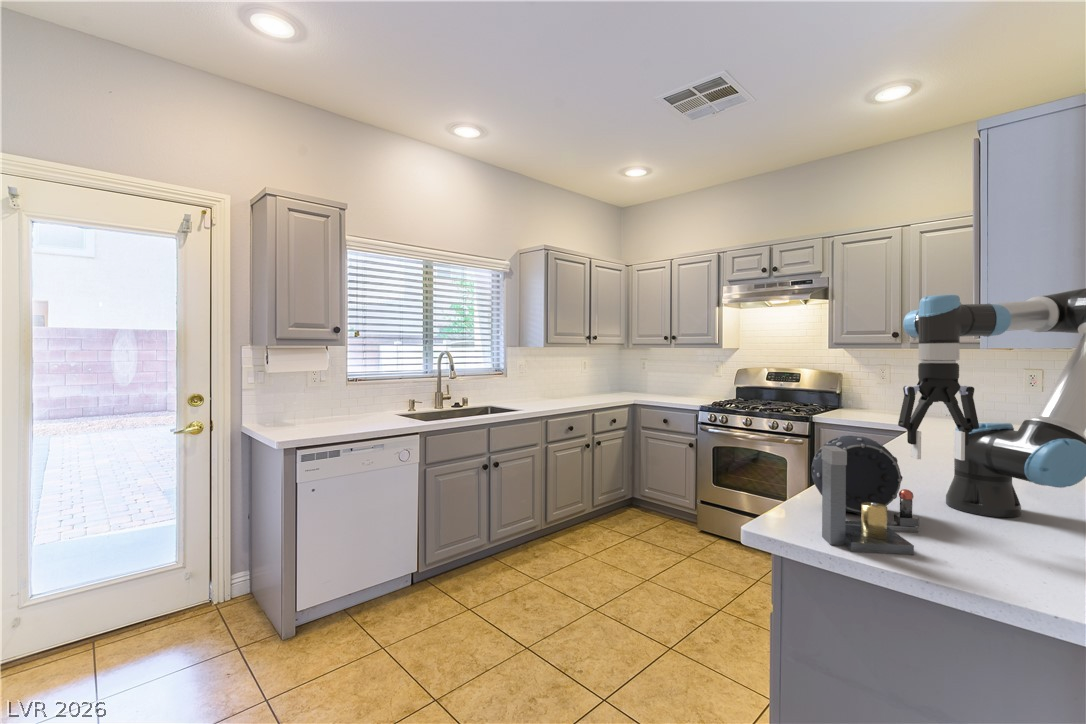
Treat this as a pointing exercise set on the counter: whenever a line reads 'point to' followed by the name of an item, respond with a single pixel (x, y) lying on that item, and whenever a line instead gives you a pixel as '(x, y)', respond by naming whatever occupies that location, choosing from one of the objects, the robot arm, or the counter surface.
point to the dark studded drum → (863, 472)
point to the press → (835, 513)
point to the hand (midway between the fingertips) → (937, 458)
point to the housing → (874, 520)
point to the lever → (906, 510)
